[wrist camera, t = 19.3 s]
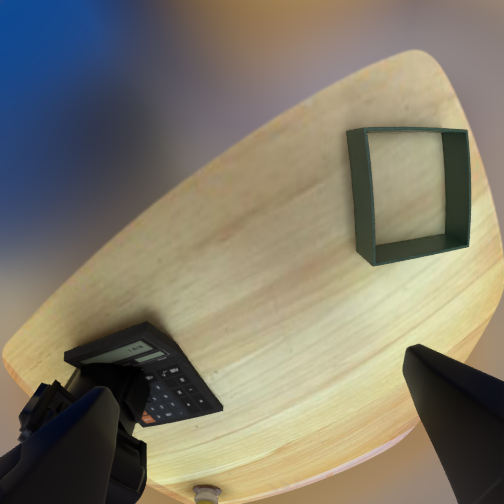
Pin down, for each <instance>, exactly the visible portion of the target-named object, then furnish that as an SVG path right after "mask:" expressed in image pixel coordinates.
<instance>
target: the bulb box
mask: <svg viewBox="0 0 504 504" xmlns="http://www.w3.org/2000/svg"><path fill="white" fill-rule="evenodd" d="M379 132H430V133H442V139H443V150H444V163H445V182H446V229H445V234H441V235H436V236H430V237H424V238H419V239H413V240H407V241H401V242H395V243H389V244H384V245H378V246H375V215H374V197H373V183H372V172H371V161H370V152H369V143H368V135H367V133H379ZM346 133H347V141H348V149H349V157H350V166H351V176H352V186H353V198H354V212H355V228H356V251H357V252H358V253H359V254H360V255H361V256H362V257H363V258H364V259H365V260H366V261H367V262H369V263H370V264H371V265H372V266H379V265H384V264H389V263H394V262H399V261H404V260H409V259H414V258H419V257H424V256H429V255H434V254H438V253H443V252H448V251H453V250H457V249H462V248H466V247H469V240H470V223H471V168H470V151H469V140H468V130H463V129H448V128H426V127H368V128H359V129H354V130H349V131H346Z"/></svg>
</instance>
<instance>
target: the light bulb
mask: <svg viewBox="0 0 504 504" xmlns="http://www.w3.org/2000/svg"><path fill="white" fill-rule="evenodd" d="M194 501H195V502H196V503H197V504H218V497H217V496H215V490H213V489H210V488H200V489H199V490H198V494H196V495H195V500H194Z"/></svg>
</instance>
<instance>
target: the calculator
mask: <svg viewBox="0 0 504 504" xmlns="http://www.w3.org/2000/svg"><path fill="white" fill-rule="evenodd" d="M64 361H65V362H67V363H69V364H71V365H73V366H74V367H76V368H78V369H80V368H81V367H82V366H84V365H86V364H89V363H112V364H117V365H121V366H137V367H138V368H140V369H141V370H142V372H143V374H144V376H145V378H146V381H147V383H148V385H149V387H150V389H151V392H150V395H151V397H152V399H153V403H151V404H146V407H145V410H144V413H143V416H142V420H141V421H140V423H139V424H140V425H141V426H142V427H149V426H155V425H161V424H166V423H172V422H177V421H182V420H186V419H191V418H195V417H200V416H204V415H208V414H212V413H216V412H220V411H223V406H222V404H221V403H220V402H219V400H218V399H217V398H216V397H215V395H214V394H213V393H212V391H211V390H210V389H209V387H208V386H207V385H206V383H205V382H204V381H203V379H202V378H201V377H200V375H199V374H198V373H197V371H196V370H195V368H194V367H193V366H192V364H191V363H190V361H189V360H188V359H187V357H186V356H185V354H184V353H183V351H182V350H181V349H180V347H179V346H178V344H176V343H175V342H174V341H172V340H171V339H170V338H168V337H167V336H166V335H164V334H163V333H162V332H161V331H159V330H158V329H157V328H155V327H154V326H153V325H152V324H150V323H149V322H148V321H146V322H143V323H140V324H138V325H135V326H133V327H130V328H127V329H125V330H122V331H119V332H117V333H114V334H111V335H109V336H106V337H104V338H101V339H98V340H95V341H93V342H90V343H87V344H85V345H82V346H79V347H77V348H74V349H71V350H68V351H66V352H64ZM148 401H150V399H148Z"/></svg>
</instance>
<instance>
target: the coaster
mask: <svg viewBox="0 0 504 504" xmlns="http://www.w3.org/2000/svg"><path fill="white" fill-rule="evenodd" d="M200 488H210V489H213V490H215V496H217V495H220V494H221V492H222V491H221V490H220V489H219V488H217V487H214V486H209V485H198V486H195V487H194V488H193V491H194V492H195V493H197V494H198V490H199V489H200Z"/></svg>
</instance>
